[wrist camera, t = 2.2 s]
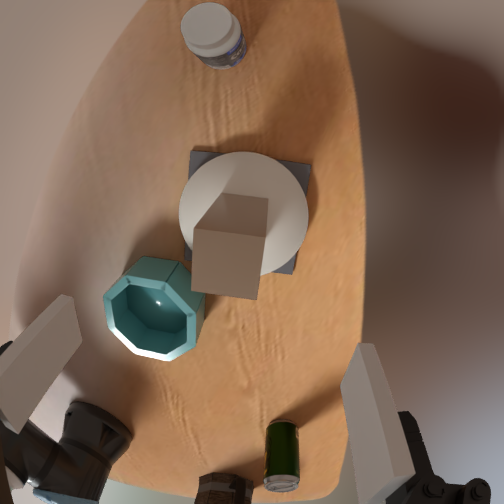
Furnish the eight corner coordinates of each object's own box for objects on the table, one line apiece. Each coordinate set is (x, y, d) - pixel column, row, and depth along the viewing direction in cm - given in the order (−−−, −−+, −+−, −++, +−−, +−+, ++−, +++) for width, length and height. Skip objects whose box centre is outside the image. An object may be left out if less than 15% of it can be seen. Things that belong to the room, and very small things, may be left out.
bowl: (126, 325, 39) (111, 347, 34) (119, 252, 35) (99, 270, 30) (203, 340, 39) (195, 366, 34) (206, 265, 34) (196, 286, 30)
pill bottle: (244, 71, 26) (234, 50, 18) (197, 69, 26) (171, 51, 19) (249, 29, 24) (240, -3, 17) (202, 28, 25) (179, -1, 17)
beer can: (292, 415, 44) (293, 478, 33) (302, 431, 46) (304, 489, 35) (261, 421, 45) (257, 483, 34) (272, 437, 47) (270, 494, 36)
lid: (180, 263, 34) (140, 327, 23) (186, 145, 29) (134, 158, 18) (295, 279, 34) (304, 352, 23) (316, 161, 29) (344, 182, 18)
